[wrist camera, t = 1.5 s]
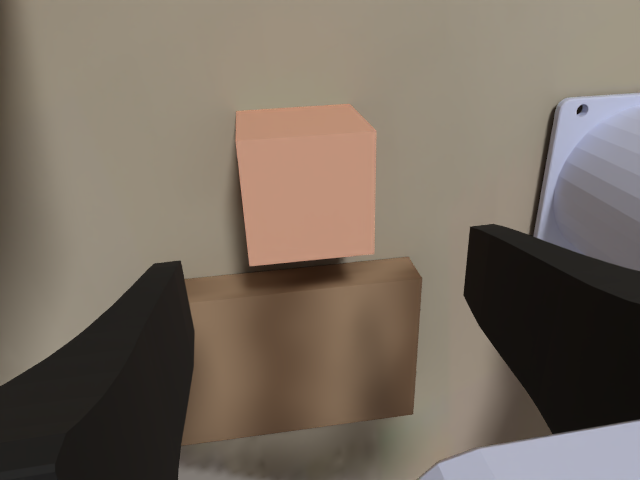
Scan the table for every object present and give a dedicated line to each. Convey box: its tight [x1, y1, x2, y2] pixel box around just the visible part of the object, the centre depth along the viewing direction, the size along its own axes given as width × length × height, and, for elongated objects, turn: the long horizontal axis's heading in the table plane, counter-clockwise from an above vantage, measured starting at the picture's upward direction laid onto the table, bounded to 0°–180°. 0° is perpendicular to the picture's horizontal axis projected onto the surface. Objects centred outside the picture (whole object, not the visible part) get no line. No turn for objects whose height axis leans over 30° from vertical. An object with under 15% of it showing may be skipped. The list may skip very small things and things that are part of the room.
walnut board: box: [181, 257, 422, 446], centre depth 24 cm, size 12×8×2 cm, turn 92°
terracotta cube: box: [236, 104, 376, 266], centre depth 19 cm, size 4×4×4 cm
